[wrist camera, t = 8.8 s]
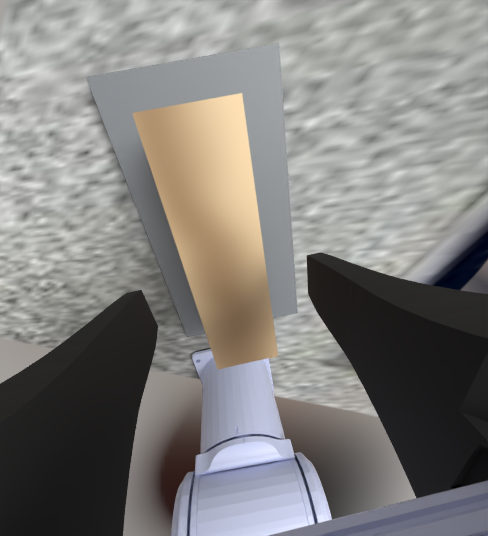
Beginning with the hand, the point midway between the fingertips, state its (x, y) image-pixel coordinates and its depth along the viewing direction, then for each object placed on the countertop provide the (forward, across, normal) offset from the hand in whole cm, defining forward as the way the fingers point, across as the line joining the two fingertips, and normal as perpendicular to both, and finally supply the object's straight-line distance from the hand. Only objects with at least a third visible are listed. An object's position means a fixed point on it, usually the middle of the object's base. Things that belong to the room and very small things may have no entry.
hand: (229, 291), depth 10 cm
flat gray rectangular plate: (+10, 0, 0) cm, 10 cm away
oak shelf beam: (+7, 0, 0) cm, 7 cm away
